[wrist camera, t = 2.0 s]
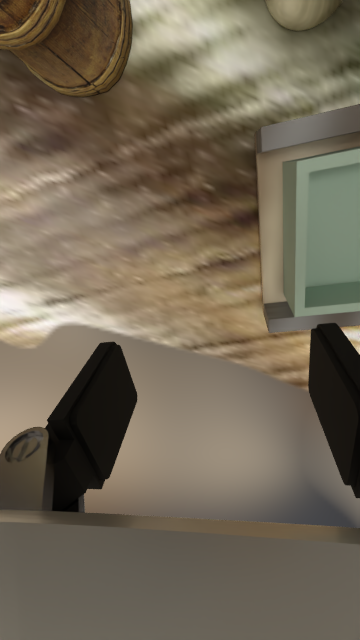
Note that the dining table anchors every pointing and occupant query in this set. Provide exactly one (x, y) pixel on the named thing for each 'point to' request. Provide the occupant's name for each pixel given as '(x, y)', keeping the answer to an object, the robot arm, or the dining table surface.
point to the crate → (322, 233)
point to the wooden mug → (69, 41)
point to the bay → (271, 151)
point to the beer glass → (301, 12)
